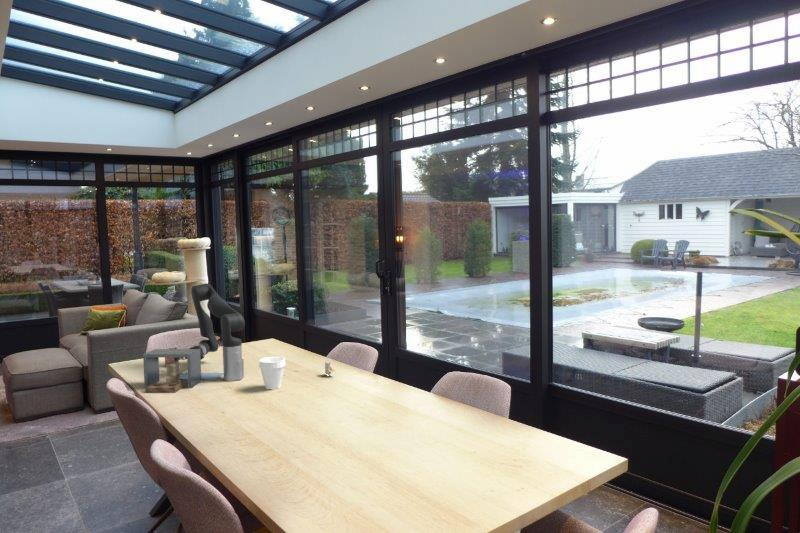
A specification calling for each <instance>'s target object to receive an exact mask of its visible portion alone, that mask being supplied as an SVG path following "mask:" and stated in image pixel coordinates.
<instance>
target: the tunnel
mask: <svg viewBox="0 0 800 533" xmlns="http://www.w3.org/2000/svg"><path fill="white" fill-rule="evenodd" d="M142 357H143V360H142V361H143V379H144V381H143V382H144V383H143V384H144V389H146V387H147V386H149V385H151V384H153V383H157V382H158V383H159V381H160V360H159V358H165V357H187V359H186V363H187V364H186V365H187V373H188V380H187V388H188V389H192V388H194V387H195V386H196V385H198V384H200V383H202V380H201V373H202V365H201V362H202V360H201V357H200V349H189V348H177V349H169V348H154V349H152V350H150V351H148V352H145V353H143V354H142Z"/></svg>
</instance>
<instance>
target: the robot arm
mask: <svg viewBox="0 0 800 533" xmlns="http://www.w3.org/2000/svg"><path fill="white" fill-rule="evenodd" d="M190 290H191V291H190V293H191V298H192V302H193V305H194V309H195V313H196V317H197V321H198V324H199V332H200V336H201V337H202V338H207V339H201V340H200V341H199V343H198V344H195V345H193V346H191V347H190V348H188V349H200V357H201V361H202V360H203V359H204V358H205V356H206V355H208V353H214V352H217V351H218V349H219V341H218V339H217V337H216V334H215V332H214V327H213V321H212V319H211V318H212V317H210V316H209V314H208V313H207V312H206V311H205V310H204V309H203V307H202V304H201V302H203V301H207V305H206V306H207V310H208V311H209V312H210V313H211V314H212V315H213V316H214V317H216V318H217V319H218V318H219V319H220V331H221V334H220V335H221V342H222V363H223V364H222V366H223V367H222V368H223V373H224V375H223V380H224V381H225V382H227V381H228V382H233V381H241V380H242V379H244V378H245V367H244V366H245V365H244V358H243V346H242V344H243V342H242V339H241V338H239V337H234V336H232V333H236V332H240V331H242V330H244V328H245V326H246V321H245V318H244V317H243V314H241V313H240V312H238V311H237V310H236V309H234V308H233V307H232V306H231V305H229V304H228V303H227V302H226V300H225V299H223V298H222V297H221V296H220V295H219V294H218V292H216V290H215V288H214V287H213V286H212V284H210V283H201V284H196V285H192V287H191V289H190ZM174 359H175V361H180V360H182V361H185V360H186V361H187V357H175V358H174Z"/></svg>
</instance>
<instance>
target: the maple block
mask: <svg viewBox="0 0 800 533" xmlns="http://www.w3.org/2000/svg"><path fill="white" fill-rule="evenodd" d="M180 369H181V368H180V361H179V362H169V363H167V364H166V367H165V371H166V379H167V380H166V383H181V380H180V373H181V371H180Z"/></svg>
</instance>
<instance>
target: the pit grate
mask: <svg viewBox="0 0 800 533" xmlns="http://www.w3.org/2000/svg"><path fill="white" fill-rule="evenodd" d="M182 385H183V384H182V383H181V382H180V383H167V382H166V383H161V382H160V383H159V382H158V383H153V384H151V385H149V386H147V387H146V388H145V394H146V393H150V394H152V393H155V394H157V393H164V394H166V393H168V394H169V393H171V394H172V393H173V394H174V393H177V392H178V390H179V391H180V390H181V388H183V387H182Z"/></svg>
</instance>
